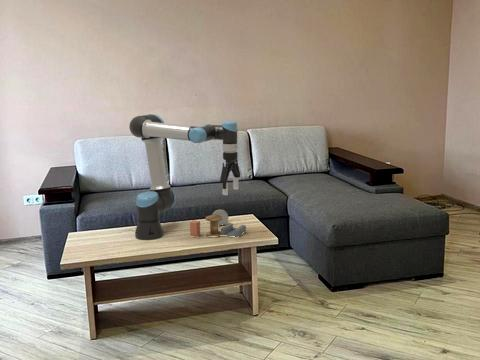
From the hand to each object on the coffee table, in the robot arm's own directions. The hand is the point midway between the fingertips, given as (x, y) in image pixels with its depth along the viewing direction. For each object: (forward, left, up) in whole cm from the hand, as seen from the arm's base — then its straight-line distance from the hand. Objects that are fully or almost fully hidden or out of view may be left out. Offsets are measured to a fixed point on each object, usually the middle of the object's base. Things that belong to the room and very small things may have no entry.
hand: (230, 192), depth 261 cm
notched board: (-2, +6, -25) cm, 25 cm away
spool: (-11, +1, -25) cm, 27 cm away
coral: (-17, +21, -25) cm, 36 cm away
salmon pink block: (-20, -4, -25) cm, 32 cm away
